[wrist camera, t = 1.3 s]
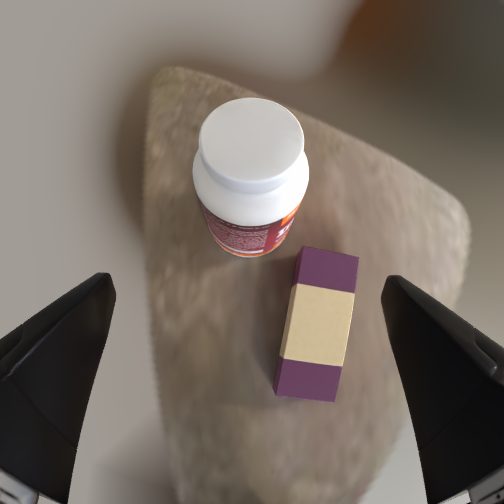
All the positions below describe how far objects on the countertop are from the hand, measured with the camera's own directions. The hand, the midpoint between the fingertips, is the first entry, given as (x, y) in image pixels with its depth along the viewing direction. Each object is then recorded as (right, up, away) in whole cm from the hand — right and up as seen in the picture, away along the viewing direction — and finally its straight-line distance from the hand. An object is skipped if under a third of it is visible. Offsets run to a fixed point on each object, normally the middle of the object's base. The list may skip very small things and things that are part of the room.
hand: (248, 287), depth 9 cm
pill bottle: (0, +4, +14) cm, 15 cm away
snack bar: (+5, -4, +12) cm, 14 cm away
